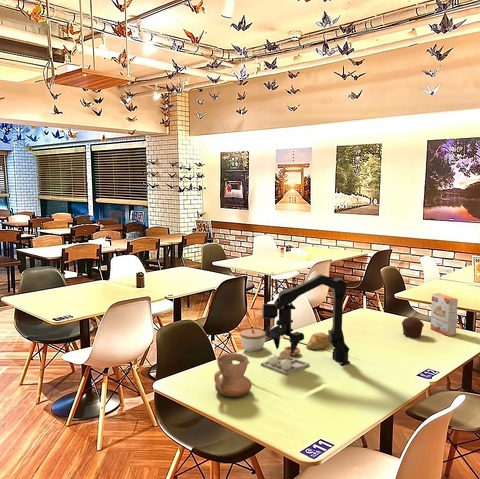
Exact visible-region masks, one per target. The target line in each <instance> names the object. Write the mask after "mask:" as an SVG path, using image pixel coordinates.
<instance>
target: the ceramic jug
mask: <svg viewBox="0 0 480 479" xmlns="http://www.w3.org/2000/svg"><path fill="white" fill-rule="evenodd" d="M235 361H236V362H238V363H233V362H235ZM216 362H217V367H218V370H217V371H215V373H214V376H213V378H214V379H213V380H214V387H215V391H216V392H217V393H218V394H219V395H221V396H224V397H228V398H239V397H243V396H245V395H247V394H248V393H249V392H250V391H251V389H252V381H251V380H250V378H249V377H247V376H246V375H245V373H246V372H247V371H246V370H247V368H248V365H249V364H250V361H249V357H248V356H247V355H244V354H242V353H239V352H237V353H236V352H233V353H231V352H230V353H226V354H222V355H221V356H219V357H217V359H216Z"/></svg>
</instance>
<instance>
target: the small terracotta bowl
mask: <svg viewBox="0 0 480 479" xmlns="http://www.w3.org/2000/svg"><path fill="white" fill-rule="evenodd" d="M283 351H287V352H288V353H289V355H290V357H291V356H297V355H298V354H299V353H301V348H300V347H299V346H297V347H296V349H295V351H294V353H293V354H291V345H289V346H285V347H284V349H283Z"/></svg>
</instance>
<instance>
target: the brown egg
mask: <svg viewBox="0 0 480 479" xmlns="http://www.w3.org/2000/svg"><path fill="white" fill-rule="evenodd" d="M278 357H280V359H281V360H284V359H288V360H289V358H290V357H291V355H289V353H288V352H287V351H284V350H282V351H281V352H279V355H278Z"/></svg>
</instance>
